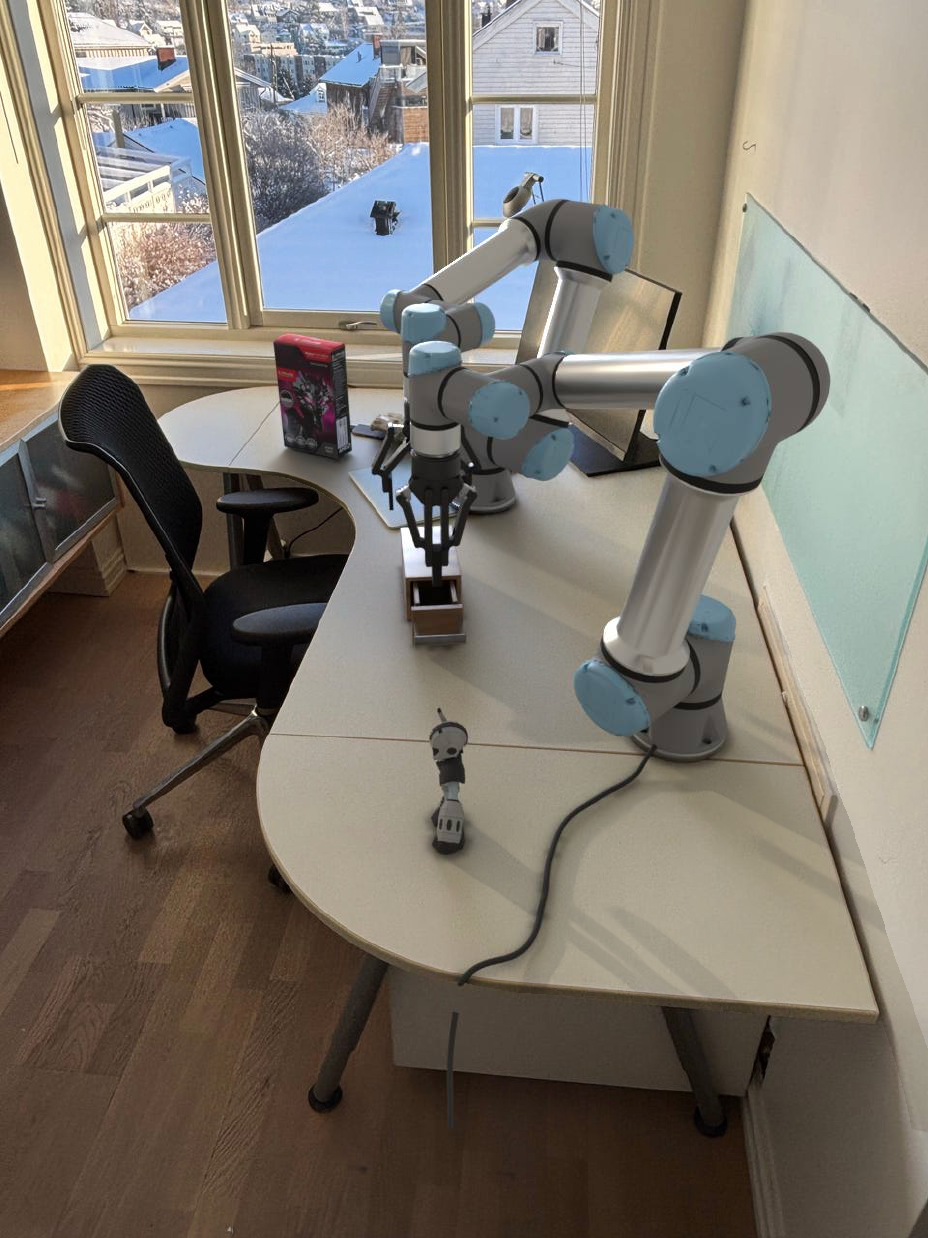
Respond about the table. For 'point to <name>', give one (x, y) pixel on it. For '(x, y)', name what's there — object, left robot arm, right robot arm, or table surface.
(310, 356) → the graphics card box
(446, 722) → the robot
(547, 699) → the table surface
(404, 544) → the wooden drawer box
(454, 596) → the wooden drawer
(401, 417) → the stone
